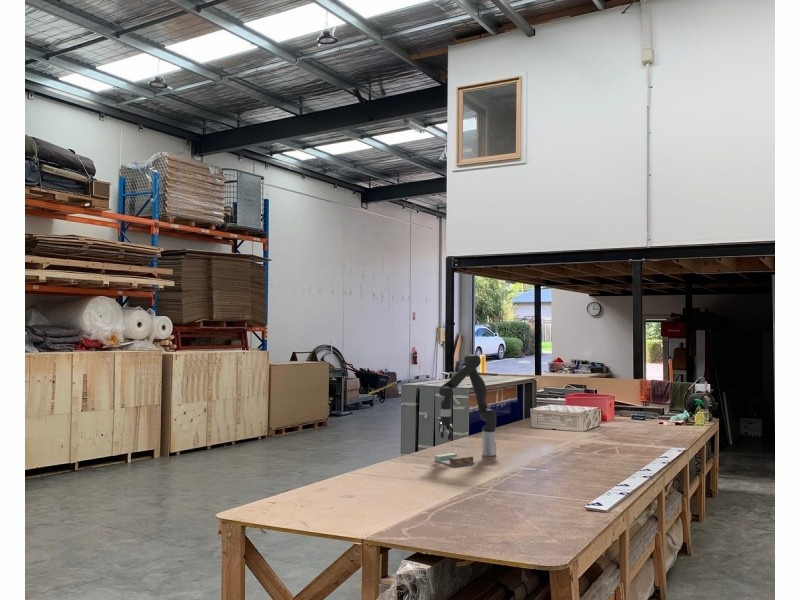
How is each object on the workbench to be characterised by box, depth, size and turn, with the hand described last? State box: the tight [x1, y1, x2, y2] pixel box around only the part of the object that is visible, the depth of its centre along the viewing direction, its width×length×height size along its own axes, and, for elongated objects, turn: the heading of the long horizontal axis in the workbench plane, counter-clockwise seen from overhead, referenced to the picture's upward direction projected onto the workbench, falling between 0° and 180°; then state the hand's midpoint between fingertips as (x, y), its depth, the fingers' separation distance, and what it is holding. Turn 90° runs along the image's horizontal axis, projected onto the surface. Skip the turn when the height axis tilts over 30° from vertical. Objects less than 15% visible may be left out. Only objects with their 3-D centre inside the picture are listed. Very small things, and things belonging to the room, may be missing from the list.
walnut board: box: [450, 454, 474, 465], centre depth 440 cm, size 16×5×4 cm, turn 121°
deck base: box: [439, 460, 475, 468], centre depth 444 cm, size 18×15×1 cm
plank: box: [434, 452, 458, 463], centre depth 455 cm, size 16×5×4 cm, turn 127°
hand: (445, 438), depth 456 cm, fingers open, 8 cm apart
